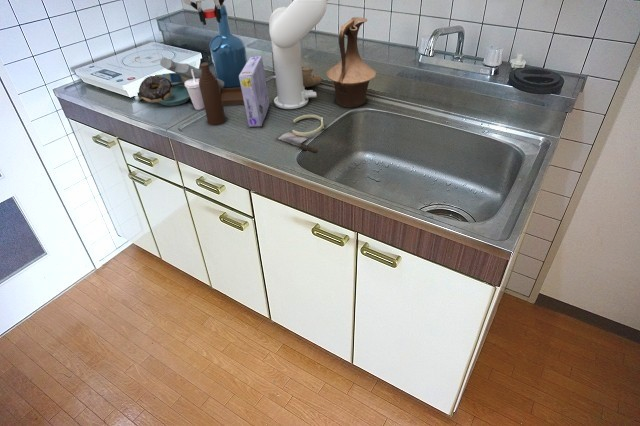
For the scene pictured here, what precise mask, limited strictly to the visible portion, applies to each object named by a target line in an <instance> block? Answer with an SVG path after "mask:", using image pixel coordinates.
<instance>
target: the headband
mask: <svg viewBox="0 0 640 426" xmlns="http://www.w3.org/2000/svg"><path fill="white" fill-rule="evenodd" d="M303 119H316V120H319V121H320V126H319V127H317V128H316V129H314V130H311V131H305V132H301V131H297V130H295V129H292V130H291V133H293V134H295V135H299V136H301V137H308V136H312V135H315V134H318V133H319V132H320V131H322V130H324V129H325V126H324V117H323V116H319V115H318V114H313V113H312V114H303V115H300V116H298V117H295V118H294V119H293V122H292V123H293V124H296V123H297V122H298V121H300V120H303Z"/></svg>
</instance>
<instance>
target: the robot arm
mask: <svg viewBox="0 0 640 426" xmlns="http://www.w3.org/2000/svg"><path fill="white" fill-rule="evenodd" d="M225 1H226V0H213V3H214V8H213V9H215V12H216V17H215V20H216V23H217V22H219V23H221V22H220V19H222V17H221V12H220V8H221V5H222V4H223V5H224V2H225ZM328 1H329V0H293V1H292V2H291V3H290V4H289V5H288V6H280V7H277V8H275V10H273V11H272V13H271V14H270V17H269V21H268V26H269V27H268V29H269V37H270V40H271V41H270V42H271V50H272V59H273V67H274V76H275V84H276V86H275V87H276V93H277V94H276V96H275V97H274V99H273V105H275V107H277V108H279V109H283V110H295V109H300V108H303V107H305V106H306V105H307V104H308V103H309V98H317V91H314V90H313V89H308V90H307V89H305V88H306V87H304V86H303V75H302V67H303V64H302V50H301V47H302V46H301V41H302V39H303V38H304V37H305V36H307V34H308V33H310V32H311V31H312V30H313V29H314V28H315V27H316V26H317V25H318V24H319V23H320V22H321V20H322V19H323V18H324V16H325V14H326V11H327V2H328ZM183 2H184V3H185V4H186V5H188V6H191V7H192V8H193V9H195V10H196V11H197V12H198V16H199V21H200V23H202V24H203V26H206V25H207V20H206V18H205V16H204V11H203V10H204V9H203V7H202V2H205V0H183Z"/></svg>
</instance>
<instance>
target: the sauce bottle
mask: <svg viewBox="0 0 640 426" xmlns="http://www.w3.org/2000/svg"><path fill="white" fill-rule="evenodd" d="M199 66H200V70H201V71H202V72H201V75H200V79H199V86H200V90H201V95H202V99H203V103H204V107H205V108H204V111H205V115H206V119H207V120H206V121H207V123H208V124H209V125H210V126H219V125H222V124H224V123H225V122H226V120H227V119H226V114H225V109H224V106H223V104H222V99H221V95H220V89H219V85H218V80H217V78H216V75H214V73H213V72H212V71H211V70H210V63H208V62H203V63H200V64H199Z"/></svg>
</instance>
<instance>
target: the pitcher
mask: <svg viewBox="0 0 640 426" xmlns="http://www.w3.org/2000/svg"><path fill="white" fill-rule="evenodd" d="M367 21H368V19H367V18H366V17H359V16H355V17H352V18H351V19H349V20H348V21H346V23H344V24H343V25H341V26H340V30H339V34H338V46H339V52H340V58H341V60H340V61H338V63H337V64H335V65H334V66H332V67H331V68H329V69H328V70H327V71H326V77H327V78H328V79H329V80H331V81H332V82H333V88H334V94H335V104H337V105H339V106H341V107H345V108H358V107H361V106H364V105H365V103H366V102H367V100H366V99H367V94H368V88H369V84H370V81H371V80H372V79H374V78H375V77H376V76H377V72H376V70H375V69H373V68H372V67H370V66H369V64H367V63H365V61H364V60H363V59H362V57H361V55H360V52H359V47H358V35H359V30H360V28H361V26H362V25H363V24H365V23H366V22H367ZM345 36H346V37H347V40H346V41H347V43H346V45H345V38H346V37H345Z"/></svg>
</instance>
